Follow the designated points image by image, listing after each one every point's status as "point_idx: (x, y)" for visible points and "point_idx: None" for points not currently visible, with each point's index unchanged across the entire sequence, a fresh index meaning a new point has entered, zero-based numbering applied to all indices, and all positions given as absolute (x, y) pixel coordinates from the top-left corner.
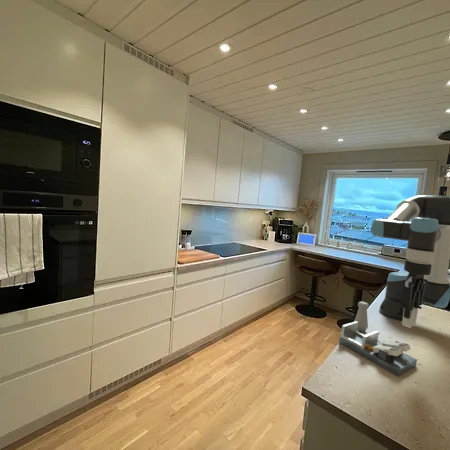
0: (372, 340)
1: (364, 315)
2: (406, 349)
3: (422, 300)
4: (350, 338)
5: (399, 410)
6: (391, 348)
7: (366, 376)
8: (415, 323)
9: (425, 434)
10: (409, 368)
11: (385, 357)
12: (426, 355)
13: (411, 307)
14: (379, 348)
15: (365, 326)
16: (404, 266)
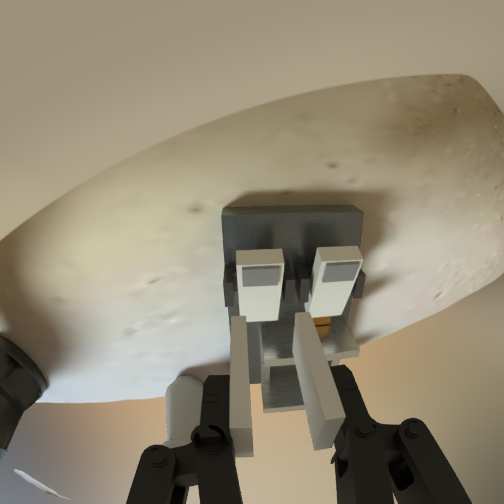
0: None
1: (186, 421)
2: (272, 253)
3: (132, 487)
4: None
5: (467, 151)
6: (346, 278)
7: (423, 246)
8: (238, 329)
9: (478, 102)
10: (278, 207)
11: None
12: (106, 229)
13: (381, 439)
14: (359, 297)
15: (188, 389)
16: None
